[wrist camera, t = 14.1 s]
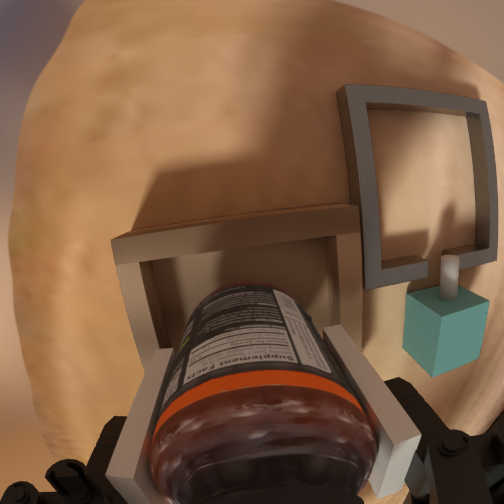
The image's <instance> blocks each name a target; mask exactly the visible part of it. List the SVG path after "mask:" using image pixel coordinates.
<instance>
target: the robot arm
mask: <svg viewBox="0 0 504 504" xmlns="http://www.w3.org/2000/svg"><path fill="white" fill-rule="evenodd" d="M323 341H324V343H325V345H326V346H327V348H328V350H329V352H330V353H331V355H332V356H333V358H334V360H335V362H336V363H337V365H338V367H339V369H340V371H341V372H342V374H343V376H344V378H345V379H346V380H347V382H348V384H349V386H350V389H351V390H352V391H353V392H354V394H355V395H356V397H357V399H358V402H359V404H360V406H361V408H362V410H363V412H364V413H365V415H366V417H367V419H368V420H369V422H370V424H371V427H372V429H373V431H374V433H375V437H376V442H377V456H376V461H375V464H374V467H373V469H372V473H371V475H370V477H369V479H368V480H369V482H370V484H371V487H372V489H373V491H374V493H375V496H376V498H377V499H379V498H382V497H385V496H388V495H391V494H393V493H396V492H399V491H401V489H402V486H403V484H404V482H405V483H406V484H407V486H408V488H409V493H408V495H407V497H406V499H405V501H404V503H403V504H504V412H503V413H502V414H501V416H500V417H499V418H498V419H497V420H496V422H495V423H494V424H493V426H492V427H491V428H490V430H489V431H488V432H487V433H485V434H481V435H476V436H469V435H468V434H466V433H465V432H463V431H459V430H455V429H454V430H450V429H449V428H448V427H447V426H446V425H445V424H444V423H443V421H442V420H441V419H440V418H439V417H438V415H437V414H436V413H435V412H434V411H433V409H432V408H431V407H430V406H429V405H428V403H427V402H425V400H424V399H423V397H422V396H421V395H420V394H418V391H417V390H416V389H415V388H414V387H413V385H412V384H411V383H409V382H407V381H405V380H403V379H402V378H400V377H397V378H394V379H391V380H387V381H384V382H383V380H382V379H381V378H380V376H379V375H378V373H377V372H376V371H375V369H374V368H373V367H372V365H371V364H370V363H369V361H368V360H367V359H366V357H365V356H364V355H363V353H362V352H361V351H360V349H359V348H358V347H357V345H356V344H355V343H354V341H353V340H352V339H351V337H350V336H349V335H348V333H347V332H346V331H345V330H344V328H343V327H342V326H341V324H340V325H335V326H330V327H324V328H323ZM175 360H176V357H175V353H174V349H173V348H168V349H155V352H154V354H153V356H152V358H151V361H150V363H149V365H148V368H147V370H146V373H145V375H144V377H143V380H142V382H141V384H140V387H139V389H138V392H137V394H136V397H135V399H134V401H133V404H132V406H131V409H130V411H129V414H128V416H114V417H113V418H112V419H111V420H110V421H109V422H108V423H106V424H105V426H104V428H103V430H102V432H101V434H100V438H99V439H98V441H97V443H96V447H95V448H94V450H93V452H92V454H91V457H90V459H89V461H88V464H87V466H85V465H84V464H83V463H82V462H80V461H78V460H74V459H65V460H61V461H58V462H57V463H55V464H53V465H52V466H51V467H50V468H49V469H48V470H47V473H46V475H45V478H46V479H47V480H48V482H49V483H50V484H51V485H52V486H53V488H54V489H55V490H56V491H57V492H39V491H38V490H37V489H36V488H35V487H34V486H33V485H32V484H30V483H28V482H24V481H20V482H16V483H13V484H12V485H10V486H9V487H8V488H7V489H6V491H5V493H4V494H3V496H2V499H1V501H0V504H168V503H167V502H166V500H165V499H164V498H163V496H162V495H161V494H160V493H159V492H158V490H157V488H156V486H155V484H154V481H153V479H152V475H151V469H150V453H151V444H152V440H153V436H154V432H155V429H156V425H157V422H158V417H159V414H160V411H161V407H162V403H163V400H164V397H165V393H166V390H167V386H168V383H169V379H170V376H171V372H172V370H173V366H174V362H175Z"/></svg>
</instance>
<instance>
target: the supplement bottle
mask: <svg viewBox="0 0 504 504" xmlns="http://www.w3.org/2000/svg"><path fill="white" fill-rule="evenodd" d="M376 456H377V442H376V437H375V433H374V431H373V429H372V427H371V424H370V422H369V420H368V419H367V417H366V415H365V413H364V412H363V410H362V408H361V406H360V404H359V402H358V399H357V397H356V395H355V394H354V392H353V391H352V390H351V389H350V386H349V384H348V382H347V380H346V379H345V378H344V376H343V374H342V372H341V371H340V369H339V367H338V365H337V363H336V362H335V360H334V358H333V356H332V355H331V353H330V352H329V350H328V348H327V346H326V345H325V343H324V341H323V339H322V338H321V336H320V334H319V333H318V331H317V329H316V327H315V326H314V324H313V322H312V318H311V316H310V317H309V315H308V313H307V312H306V311H305V309H304V308H303V306H302V305H301V304H300V303H299V302H298V301H297V300H296V299H295V298H294V297H293V296H292V295H291V294H289V293H288V292H286V291H285V290H283V289H281V288H279V287H277V286H275V285H272V284H269V283H265V282H259V281H241V282H235V283H231V284H228V285H225V286H222V287H220V288H218V289H216V290H214V291H213V292H211V293H210V294H208V295H207V296H206V297H205V298H204V299H203V300H202V301H201V302H200V303H199V304H198V305H197V307H196V308H195V309H194V311H193V313H192V314H191V317H190V319H189V321H188V323H187V325H186V328H185V332H184V334H183V338H182V341H181V344H180V347H179V350H178V353H177V357H176V360H175V362H174V366H173V370H172V372H171V376H170V379H169V383H168V386H167V390H166V393H165V397H164V400H163V403H162V407H161V411H160V414H159V417H158V422H157V425H156V429H155V432H154V436H153V440H152V444H151V453H150V469H151V475H152V479H153V481H154V484H155V486H156V488H157V490H158V492H159V493H160V494H161V495H162V496H163V498H164V499H165V500H166V502H167V503H168V504H364V501H363V500H362V498H360V497H359V496H357V494H358V493H359V492H360V490H361V489H362V488H363V487H364V486H365V484H366V482H367V481H368V479H369V477H370V475H371V473H372V469H373V467H374V464H375V461H376Z"/></svg>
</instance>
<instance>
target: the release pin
mask: <svg viewBox="0 0 504 504" xmlns="http://www.w3.org/2000/svg"><path fill="white" fill-rule="evenodd" d="M459 259H460V257H459V256H457V255H443V256H441V270H440V285H439V286H435V287H431V288H427V289H423V290H418V291H414V292H410V293H406V310H405V325H404V337H403V347H402V348H403V349H404V350H405V351H406V352H407V353H408V354H409V355H410V356H411V357H412V358H413V359H414V360H415V361H416V362H417V363H418V364H419V365H420V366H421V367H422V368H423V369H424V370H425V371H426V372H427V373H428V374H429V375H430V376H431V377H432V378H433V377H435V376H438V375H440V374H443V373H445V372H448V371H450V370H453V369H455V368H458V367H460V366H462V365H465V364H467V363H469V362H471V361H474V360H476V359H478V358H479V354H480V350H481V345H482V341H483V336H484V331H485V325H486V320H487V314H488V307H489V300H487V299H485V298H483V297H481V296H479V295H477V294H475V293H473V292H471V291H469V290H467V289H465V288H463V287H461V286H459V285H458V277H459Z"/></svg>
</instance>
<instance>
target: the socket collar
mask: <svg viewBox="0 0 504 504" xmlns="http://www.w3.org/2000/svg"><path fill="white" fill-rule="evenodd" d="M336 96H337V102H338V108H339V114H340V120H341V126H342V133H343V140H344V147H345V154H346V162H347V171H348V180H349V189H350V200H351V205H354V206H358V207H359V220H360V236H361V255H362V288H363V289H364V290H369V289H374V288H379V287H384V286H389V285H394V284H399V283H404V282H409V281H413V280H418V279H423V278H427V277H428V265H429V261H428V260H425V259H423V258H420V257H418V256H410V257H404V258H399V259H393V260H387V261H381V240H380V221H379V206H378V193H377V183H376V173H375V164H374V156H373V148H372V141H371V134H370V127H369V121H368V115H367V109H390V110H408V111H421V112H432V113H441V114H450V115H458V116H465V117H466V118H467V124H468V130H469V136H470V143H471V151H472V160H473V170H474V183H475V201H476V244H475V245H469V246H464V247H459V248H454V249H448V250H444V254H443V255H457V256H459V257H460V259H459V270H461V269H465V268H469V267H474V266H477V265H481V264H485V263H489V262H493V261H497V248H498V191H497V175H496V164H495V154H494V146H493V139H492V132H491V126H490V120H489V114H488V109H487V104H486V101H482V100H477V99H473V98H468V97H463V96H457V95H452V94H446V93H439V92H433V91H425V90H417V89H409V88H399V87H387V86H373V85H350V84H345V85H343V86H342V87H341V88H340V89H339V90H338V91H337V92H336Z"/></svg>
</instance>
